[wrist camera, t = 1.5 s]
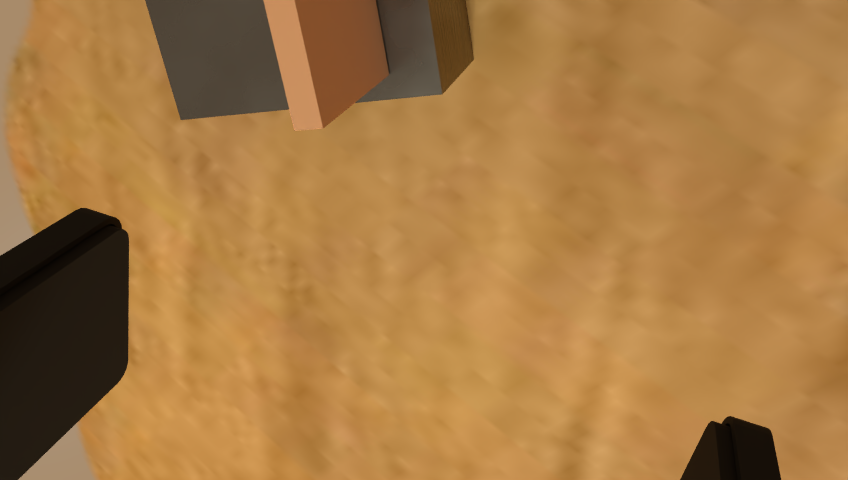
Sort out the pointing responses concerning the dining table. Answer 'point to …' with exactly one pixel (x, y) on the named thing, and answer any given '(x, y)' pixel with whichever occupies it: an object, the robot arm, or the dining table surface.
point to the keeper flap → (326, 55)
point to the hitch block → (257, 61)
